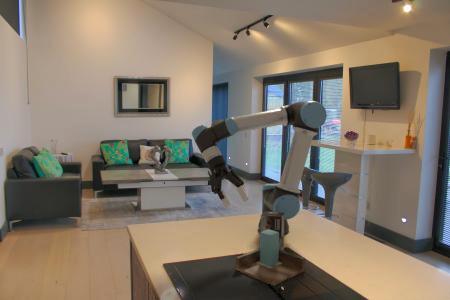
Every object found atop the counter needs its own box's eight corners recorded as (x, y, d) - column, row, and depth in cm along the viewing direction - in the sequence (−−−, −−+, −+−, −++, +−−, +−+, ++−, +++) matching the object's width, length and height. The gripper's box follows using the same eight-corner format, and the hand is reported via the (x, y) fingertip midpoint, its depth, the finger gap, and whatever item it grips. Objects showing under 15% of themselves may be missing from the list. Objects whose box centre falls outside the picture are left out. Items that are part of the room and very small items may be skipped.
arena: (267, 257, 155) (267, 245, 154) (304, 270, 142) (304, 258, 142) (235, 270, 143) (236, 257, 142) (273, 286, 130) (274, 272, 129)
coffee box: (284, 249, 164) (285, 212, 162) (281, 254, 158) (282, 216, 156) (263, 246, 167) (264, 210, 165) (259, 251, 160) (260, 214, 159)
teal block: (267, 259, 150) (268, 229, 149) (278, 262, 147) (279, 232, 145) (259, 262, 146) (260, 232, 145) (270, 266, 143) (271, 235, 142)
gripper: (225, 161, 174) (247, 202, 168) (189, 166, 154) (212, 213, 148) (236, 152, 170) (259, 194, 164) (201, 156, 150) (225, 204, 144)
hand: (237, 203), depth 156 cm, fingers open, 13 cm apart
